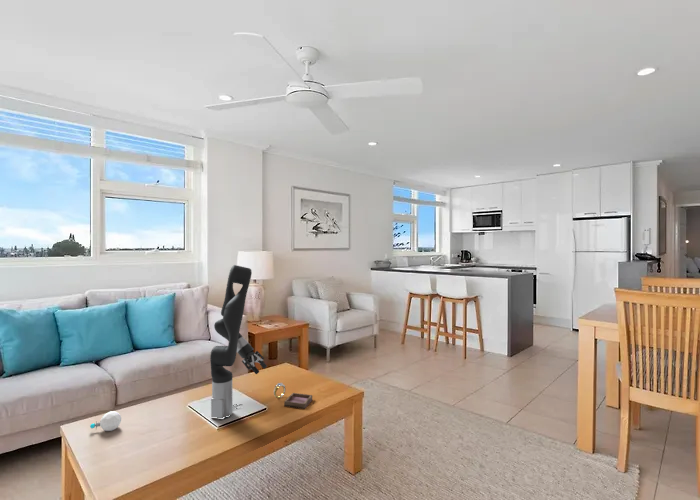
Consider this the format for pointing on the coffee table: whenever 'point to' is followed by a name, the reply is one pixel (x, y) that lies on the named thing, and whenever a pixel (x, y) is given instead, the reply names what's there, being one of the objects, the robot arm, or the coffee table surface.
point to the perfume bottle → (108, 421)
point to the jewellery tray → (298, 400)
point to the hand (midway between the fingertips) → (261, 370)
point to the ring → (277, 389)
